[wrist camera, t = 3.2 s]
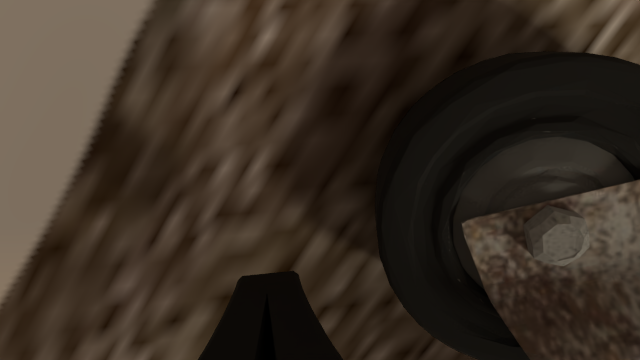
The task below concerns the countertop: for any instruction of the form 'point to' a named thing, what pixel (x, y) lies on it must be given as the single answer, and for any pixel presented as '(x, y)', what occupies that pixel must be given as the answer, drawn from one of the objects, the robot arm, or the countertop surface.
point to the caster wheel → (519, 208)
